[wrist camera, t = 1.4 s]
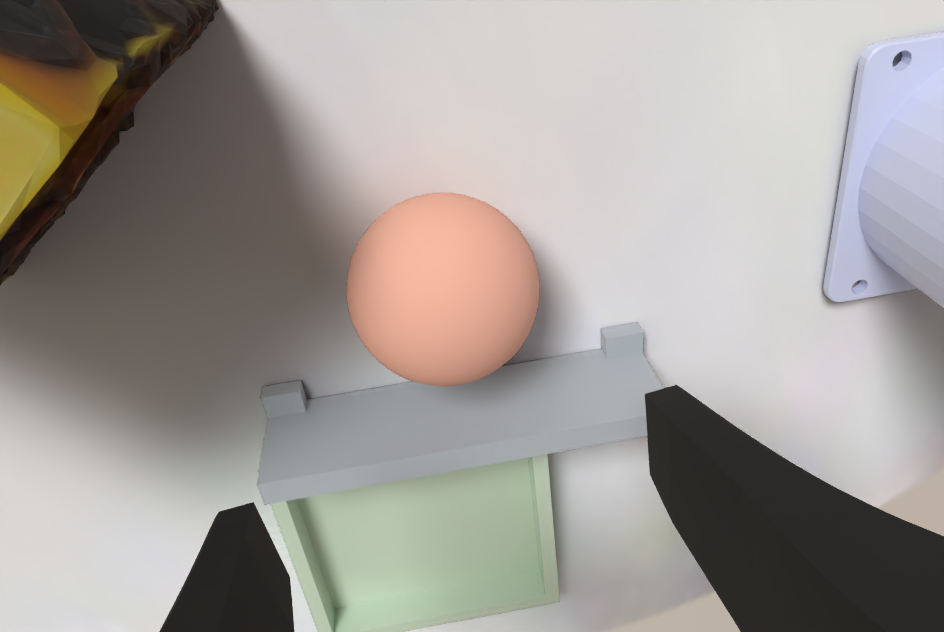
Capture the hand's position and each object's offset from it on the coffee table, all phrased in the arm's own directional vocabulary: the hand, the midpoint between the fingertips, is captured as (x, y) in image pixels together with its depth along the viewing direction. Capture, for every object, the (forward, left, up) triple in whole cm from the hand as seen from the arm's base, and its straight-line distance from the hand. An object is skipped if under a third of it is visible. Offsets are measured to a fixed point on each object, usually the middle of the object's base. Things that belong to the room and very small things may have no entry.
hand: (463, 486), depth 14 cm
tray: (+2, +10, -10) cm, 14 cm away
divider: (0, +5, -10) cm, 11 cm away
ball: (0, 0, -7) cm, 7 cm away
